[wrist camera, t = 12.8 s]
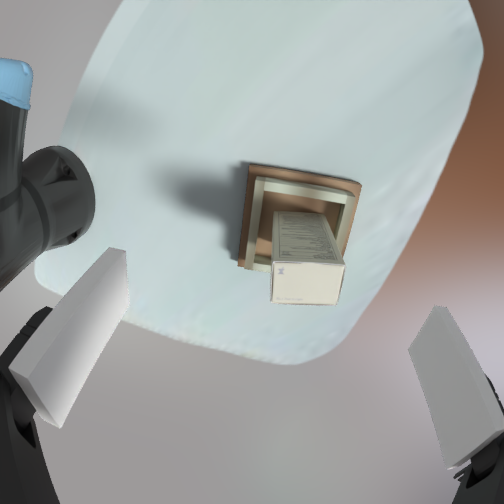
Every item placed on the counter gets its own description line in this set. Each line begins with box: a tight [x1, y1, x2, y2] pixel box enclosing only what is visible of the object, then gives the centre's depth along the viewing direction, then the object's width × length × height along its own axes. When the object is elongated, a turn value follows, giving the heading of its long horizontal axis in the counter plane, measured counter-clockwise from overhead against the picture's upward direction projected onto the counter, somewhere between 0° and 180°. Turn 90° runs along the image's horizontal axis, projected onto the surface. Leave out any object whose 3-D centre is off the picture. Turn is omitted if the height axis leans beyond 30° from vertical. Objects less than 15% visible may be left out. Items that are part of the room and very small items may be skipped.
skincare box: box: [270, 211, 346, 306], centre depth 30 cm, size 6×4×12 cm
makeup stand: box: [238, 164, 362, 273], centre depth 35 cm, size 13×13×3 cm
